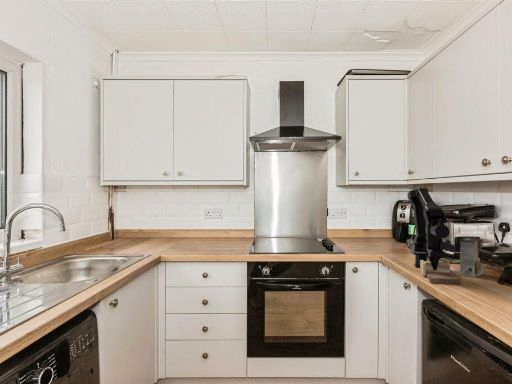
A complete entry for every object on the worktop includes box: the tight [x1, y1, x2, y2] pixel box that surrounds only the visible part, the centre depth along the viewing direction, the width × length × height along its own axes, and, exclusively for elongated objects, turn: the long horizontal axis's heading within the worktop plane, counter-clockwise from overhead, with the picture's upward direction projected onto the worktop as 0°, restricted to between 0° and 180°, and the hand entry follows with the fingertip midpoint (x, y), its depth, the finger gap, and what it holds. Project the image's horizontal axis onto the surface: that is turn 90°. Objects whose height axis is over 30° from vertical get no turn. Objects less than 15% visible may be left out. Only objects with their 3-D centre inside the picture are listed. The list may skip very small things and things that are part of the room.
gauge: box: [419, 260, 451, 277], centre depth 154 cm, size 7×11×6 cm, turn 72°
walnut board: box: [425, 269, 461, 286], centre depth 149 cm, size 16×11×2 cm
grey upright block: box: [459, 237, 484, 279], centre depth 155 cm, size 9×6×16 cm
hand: (434, 269), depth 154 cm, fingers closed on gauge, 3 cm apart
